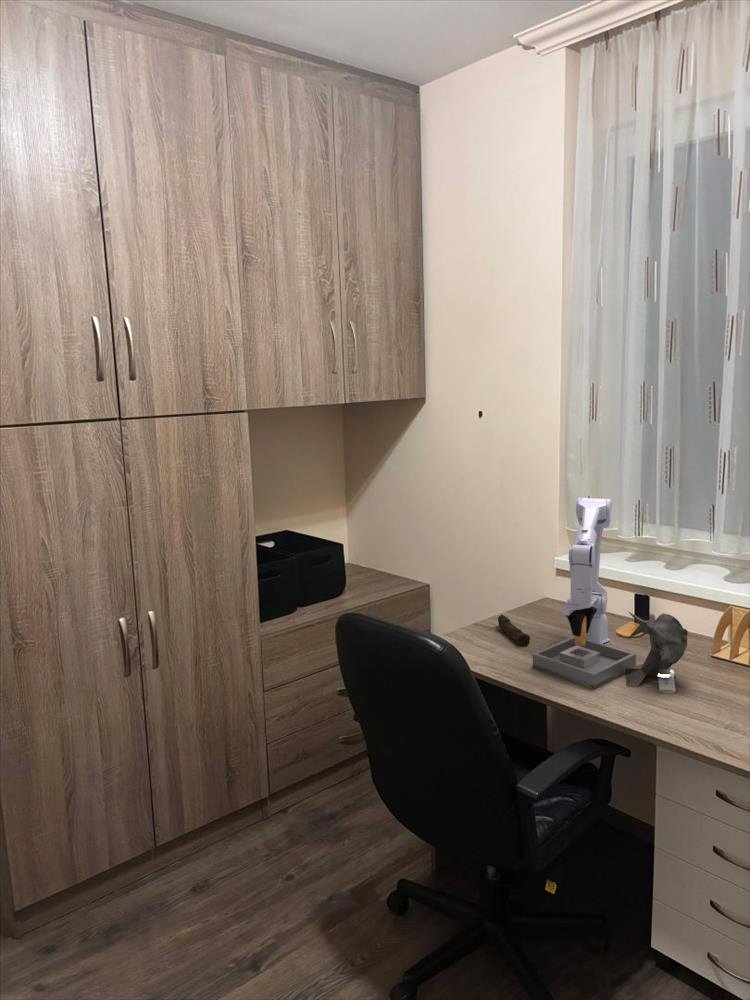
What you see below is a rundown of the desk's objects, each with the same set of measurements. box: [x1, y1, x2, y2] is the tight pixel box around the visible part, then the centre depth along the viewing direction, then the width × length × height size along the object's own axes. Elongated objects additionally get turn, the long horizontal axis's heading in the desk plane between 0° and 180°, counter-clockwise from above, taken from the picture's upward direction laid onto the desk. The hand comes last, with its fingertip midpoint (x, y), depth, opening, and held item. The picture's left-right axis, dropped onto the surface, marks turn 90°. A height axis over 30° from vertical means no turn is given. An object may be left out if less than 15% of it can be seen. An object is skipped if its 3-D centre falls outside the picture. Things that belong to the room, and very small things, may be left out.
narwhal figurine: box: [624, 611, 689, 688], centre depth 201 cm, size 14×15×18 cm
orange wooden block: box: [573, 616, 586, 646], centre depth 211 cm, size 3×3×8 cm
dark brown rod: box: [497, 614, 531, 648], centre depth 236 cm, size 19×4×5 cm, turn 12°
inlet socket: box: [560, 645, 601, 669], centre depth 212 cm, size 8×8×2 cm
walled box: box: [532, 635, 637, 690], centre depth 210 cm, size 20×20×4 cm
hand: (580, 633), depth 211 cm, fingers closed on orange wooden block, 3 cm apart
